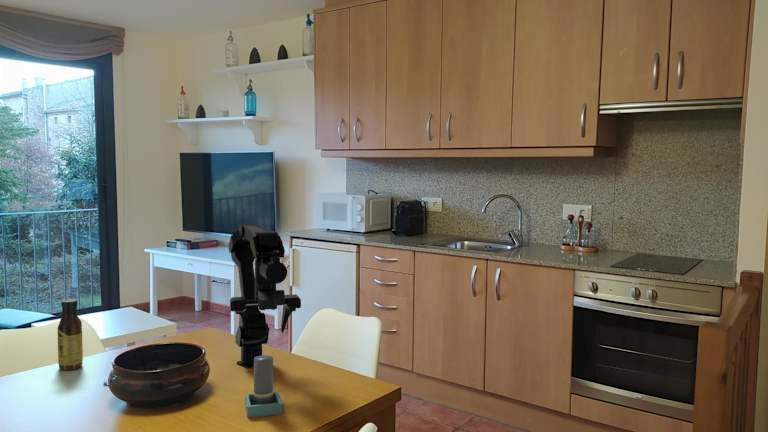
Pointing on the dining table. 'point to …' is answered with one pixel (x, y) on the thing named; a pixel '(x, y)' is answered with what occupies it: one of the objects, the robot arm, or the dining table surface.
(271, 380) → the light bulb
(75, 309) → the sauce bottle
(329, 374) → the dining table surface
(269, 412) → the frame
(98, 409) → the dining table surface
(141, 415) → the dining table surface
